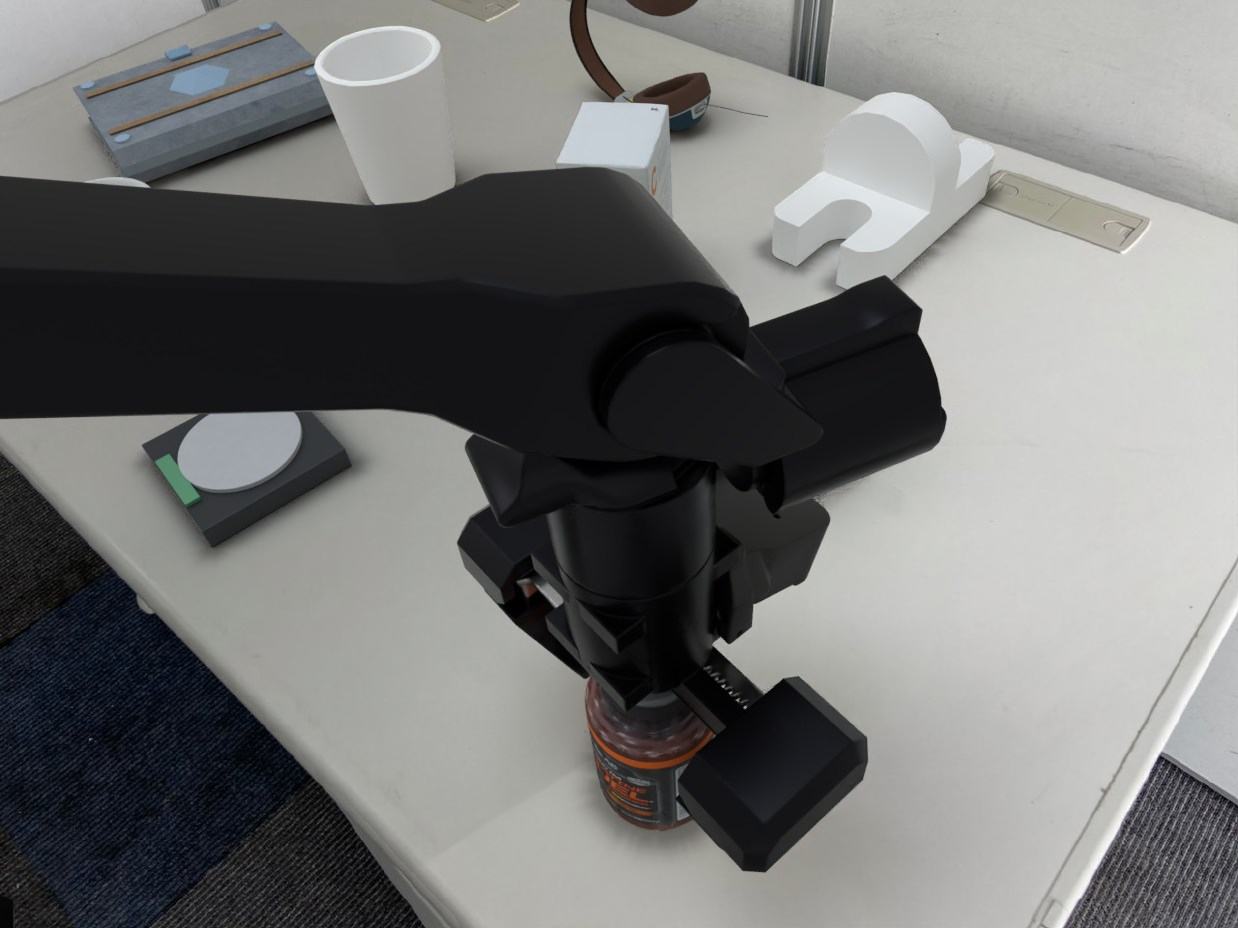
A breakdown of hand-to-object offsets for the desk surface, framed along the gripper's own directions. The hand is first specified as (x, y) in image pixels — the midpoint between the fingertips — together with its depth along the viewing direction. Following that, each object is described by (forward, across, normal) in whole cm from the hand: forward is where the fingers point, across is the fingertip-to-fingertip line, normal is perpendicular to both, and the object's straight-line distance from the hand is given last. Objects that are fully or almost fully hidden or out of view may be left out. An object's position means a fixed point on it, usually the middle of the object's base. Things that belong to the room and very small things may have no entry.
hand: (652, 736), depth 45 cm
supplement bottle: (+5, 0, 0) cm, 5 cm away
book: (+5, +80, -12) cm, 81 cm away
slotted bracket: (+4, +23, -44) cm, 50 cm away
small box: (+5, +31, -24) cm, 40 cm away
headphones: (+4, +47, -42) cm, 63 cm away
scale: (+4, +34, +6) cm, 35 cm away
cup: (+5, +54, -19) cm, 57 cm away
